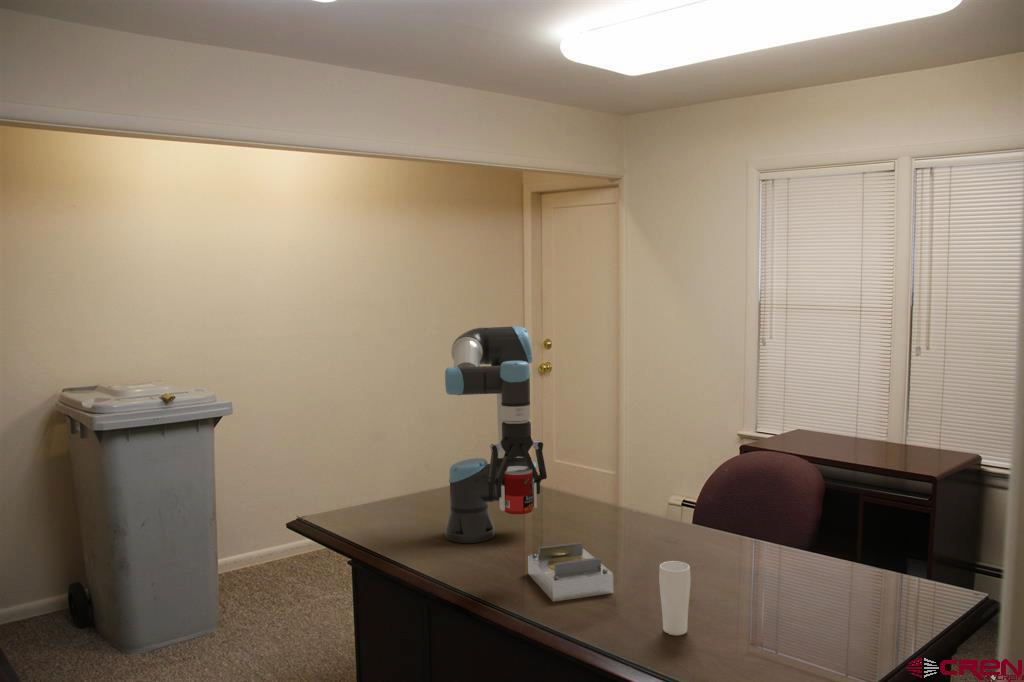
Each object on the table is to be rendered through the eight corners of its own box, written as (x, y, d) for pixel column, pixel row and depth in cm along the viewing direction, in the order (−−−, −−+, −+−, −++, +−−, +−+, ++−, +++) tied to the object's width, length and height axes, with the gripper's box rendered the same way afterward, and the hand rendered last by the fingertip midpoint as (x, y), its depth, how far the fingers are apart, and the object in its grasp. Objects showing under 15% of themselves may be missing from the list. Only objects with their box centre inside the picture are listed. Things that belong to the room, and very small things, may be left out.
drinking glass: (656, 625, 187) (655, 561, 186) (685, 624, 188) (685, 559, 187) (664, 638, 181) (663, 572, 179) (694, 637, 181) (694, 570, 180)
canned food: (530, 515, 210) (529, 472, 209) (499, 514, 212) (498, 471, 211) (536, 507, 218) (535, 466, 217) (506, 506, 219) (505, 465, 219)
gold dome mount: (528, 573, 222) (527, 544, 221) (583, 566, 226) (583, 537, 226) (553, 601, 203) (552, 569, 202) (613, 592, 207) (612, 561, 206)
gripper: (480, 426, 207) (482, 515, 209) (558, 420, 212) (560, 508, 214) (473, 421, 214) (476, 507, 216) (550, 416, 219) (552, 500, 221)
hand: (518, 507), depth 215 cm, fingers closed on canned food, 8 cm apart
